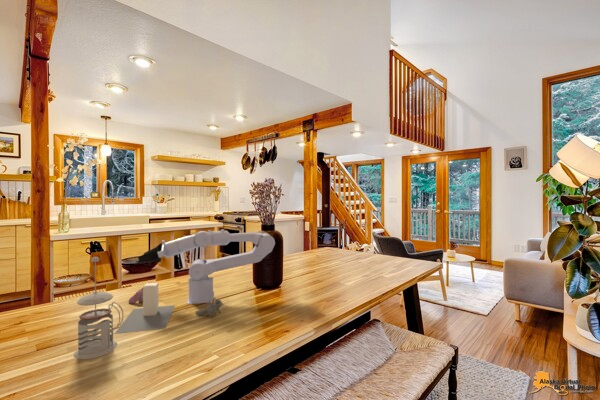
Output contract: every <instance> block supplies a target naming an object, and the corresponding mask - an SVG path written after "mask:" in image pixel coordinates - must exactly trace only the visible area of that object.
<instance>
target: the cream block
mask: <svg viewBox="0 0 600 400" xmlns="http://www.w3.org/2000/svg"><path fill="white" fill-rule="evenodd" d="M142 288H143V301H142V308H143V316H150V315H156V314H157V312H158V307H159V282H149V283H145V284H144V285H143V287H142Z"/></svg>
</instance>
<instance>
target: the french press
mask: <svg viewBox="0 0 600 400" xmlns="http://www.w3.org/2000/svg"><path fill="white" fill-rule="evenodd" d="M90 262H92V263H94V292H91V293H89V294H85V295H84V296H81V298H79V299H78V300H77V301H76V304H77V305H79V306H94V309H91V310H88V311H85V312H83V313H81V314H79V316H78V317H79V321H78V322H77V333H78V334H77V339H78V340H77V345H78V348H77V349H76V350H75V352H73V357H74V359H78V360H90V359H95V358H98V357H101V356H104V355H106V354H109V353H111V352H112V351H113V350H115V349H116V348H117V347H118V343H117V342H116V340H114V331H115V330H116V329H118V328H119V327H120V326H121V325H122V323H123V322H124V321H123V320H124V309H123V307H122V306H121V305H120V304H119V303H117V302H115V301H112V302H111V303H110V304H109V305H107V306H108V307H107V308H105V307H104V308H103V307H102V308H97V305H101V304H104V303H107V302H109V301H111V300H112V299H113V298H114V295H113V294H112V293H109V292H108V291H107V292H106V291H97V262H100V257H98V256H93V257H92V258H91V259H90ZM114 304H115V305H117V306H118V307H119V308H120V310H121V312H120V311H119V308H118V307H117V306H115V305H114ZM110 306H111V307H110ZM113 308H114V309H115V310H116V311H117V313H118V323H117V324H116V326H115V327H114V316H113V314H112V309H113ZM121 313H122V314H121ZM121 315H122V318H121ZM105 318H107V319H105ZM102 319H103V320H102ZM100 320H101V321H100ZM99 321H100V322H99ZM94 323H95V324H94Z"/></svg>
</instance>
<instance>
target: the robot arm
mask: <svg viewBox="0 0 600 400" xmlns="http://www.w3.org/2000/svg"><path fill="white" fill-rule="evenodd" d="M231 242H237V243H239V242H240V243H241V242H250V243H253V244H254V247H253V248H252V250H251V251H246V252H242V253H238V254H237V253H236V254H233V255H232V254H231V255H228V256H227V255H226V256H224V257H223V256H222V257H219V258H215V259H213V258H212V259H211V258H210V259H209V258H208V259H201V258H198V259H195V260H193V261H192V263H191V264H190V267H189V269H188V275H189V276H188V298H187V302H186V305H194V304H205V303H209V300H210V302H211V303H214V296H215V294H214V293H215V291H214V277H209V276H210V275H212V274H214V273H216V272H219V271H225V270H229V269H234V268H239V267H243V266H247V265H252V264H256V263H259V262H261V261H263V259H264V258H266V256H267V255H269V254H270V253H272V252H273V249H274V247H275V245H276V241H275V238H274V237H273V236H272V235H270V233H268V232H255V231H254V232H253V231H252V232H250V231H249V232H238V233H236V232H235V233H230V232H229V231H228V230H225V229H224V228H223V229H220V230H211V229H209V230H207V231H206V230H199V231H198V232H197V233H193V234H191V235H187V236H183V237H179V238H177V239H173V240H170V241H166V240H165V239H163V240H161V242H159V244H158V245H157V246H155V247H154V248H152V249H150V250H147V251H145V252H144V253H143V254H141V255H139V256H138V258H137V259H138V261H139V264H140V263H141V264H142V263H149V262H151V263H152V262H156V263H157V262H158V263H160V262H161V261H162V259H161V258H162V257H163V258H166V259H169V258H171V257H174V256H177V255H180V254H183V253H186V252H190V251H192V250H194V249H197V248H206V247H208V246H213V247H214V246H227V245H228V244H229V243H231Z"/></svg>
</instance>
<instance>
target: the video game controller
mask: <svg viewBox="0 0 600 400" xmlns="http://www.w3.org/2000/svg"><path fill="white" fill-rule="evenodd" d="M137 302H139V303H141V302H143V287H142V288H140V289H138V291H136V292H135V293H134V294H133V295H132V296H131V297H130V298H129V299H128V304H130V305H131V304H135V303H137Z"/></svg>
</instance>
